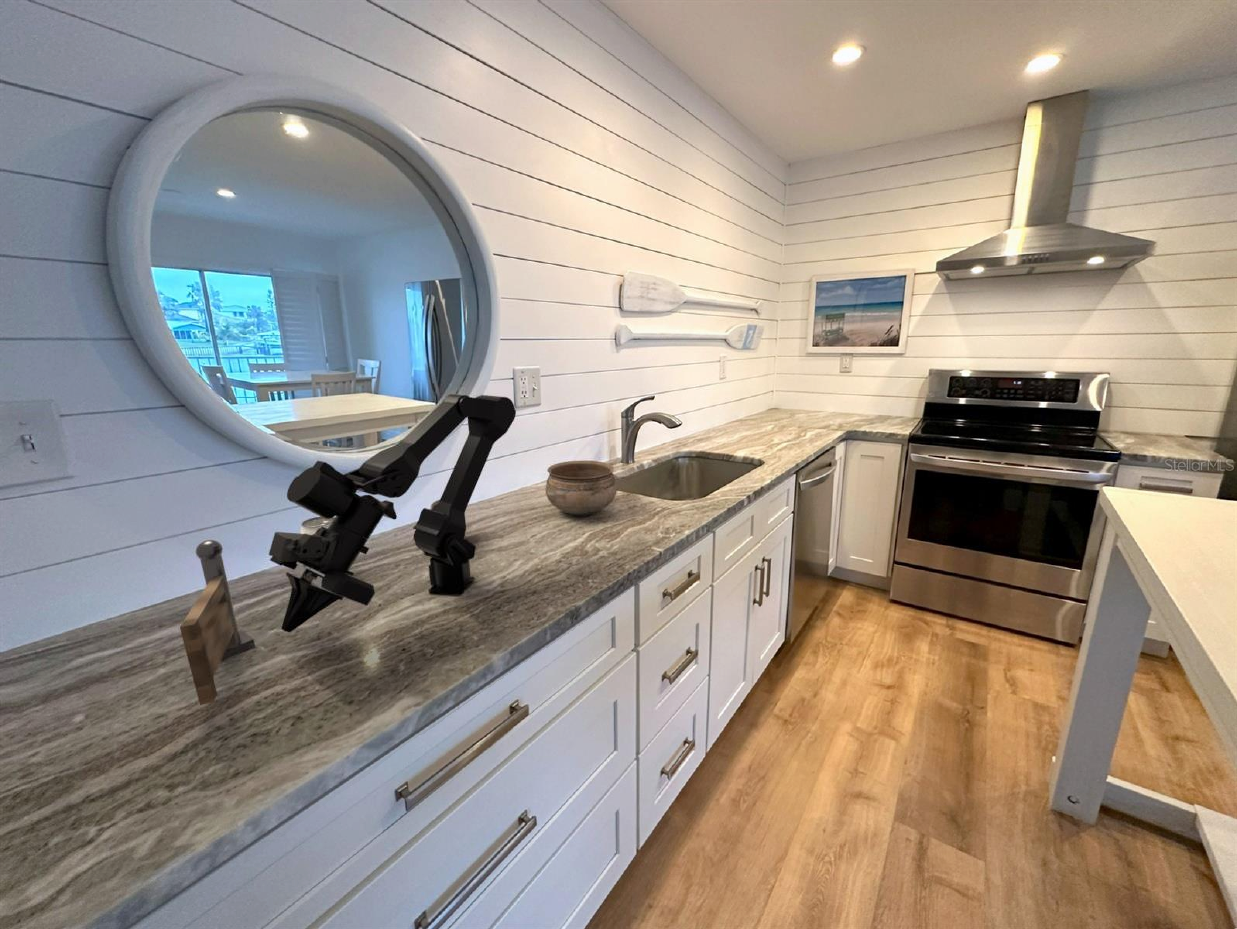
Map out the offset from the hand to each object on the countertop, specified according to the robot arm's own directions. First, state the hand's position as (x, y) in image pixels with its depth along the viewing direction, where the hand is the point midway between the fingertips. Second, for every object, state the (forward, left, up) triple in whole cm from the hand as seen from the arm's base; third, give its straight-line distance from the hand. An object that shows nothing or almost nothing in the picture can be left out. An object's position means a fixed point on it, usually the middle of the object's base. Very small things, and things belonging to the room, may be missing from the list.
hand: (285, 630), depth 70 cm
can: (+14, -26, -6) cm, 30 cm away
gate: (+7, +4, -4) cm, 9 cm away
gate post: (+13, -3, -6) cm, 14 cm away
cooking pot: (-28, -69, -6) cm, 74 cm away
